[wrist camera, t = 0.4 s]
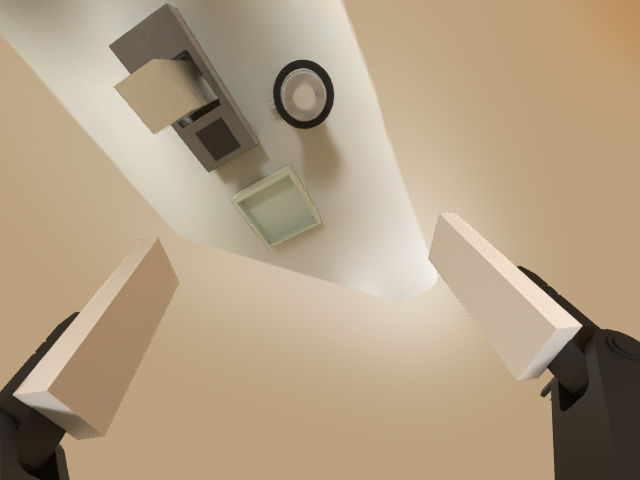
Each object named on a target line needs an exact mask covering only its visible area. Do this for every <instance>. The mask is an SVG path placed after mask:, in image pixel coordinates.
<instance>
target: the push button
mask: <svg viewBox="0 0 640 480" xmlns="http://www.w3.org/2000/svg"><path fill="white" fill-rule="evenodd" d="M300 68H306V69H310V70H312V71H314V72H311V71H307V70H300V71H296V72H294V73H292V74H291V75H290V76H289V77H288V78H287V79H286V81H285V83H284V85H283V87H282V89H281V86H282V83H283V81H284V79H285V78H286V76H287V75H288V74H289V73H291V72H292V71H294V70H296V69H300ZM319 77H320V78H321V79H320V78H319ZM273 97H274V99H273V100H272V101H270V102H268V106H269V108H270V110H272V109H274V108H276V109H277V111H278V113H279V114H280V116H281V117H282V118H283V119H284V120H285V121H286V122H287V123H288V124H290V125H291V126H293V127H296V128H300V129H308V128H313V127H315V126H317V125H319V124H320V123H322V122H323V121H324V120H325V119H326V118H327V116H328V115H329V113H330V111H331V109H332V106H333V101H334V90H333V85H332V82H331V79H330V77H329V75H328V74H327V72H326V71H325V70H324V69H323V68H322V67H321V66H320V65H318V64H317V63H315V62H312V61H309V60H297V61H294V62H291V63H289V64H288V65H286V66H285V67H284V68H283V69H282V70H281V71H280V73H279V74H278V76H277V78H276V81H275V84H274V90H273ZM272 103H274V104H275V105H274V106H273V105H272Z"/></svg>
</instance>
